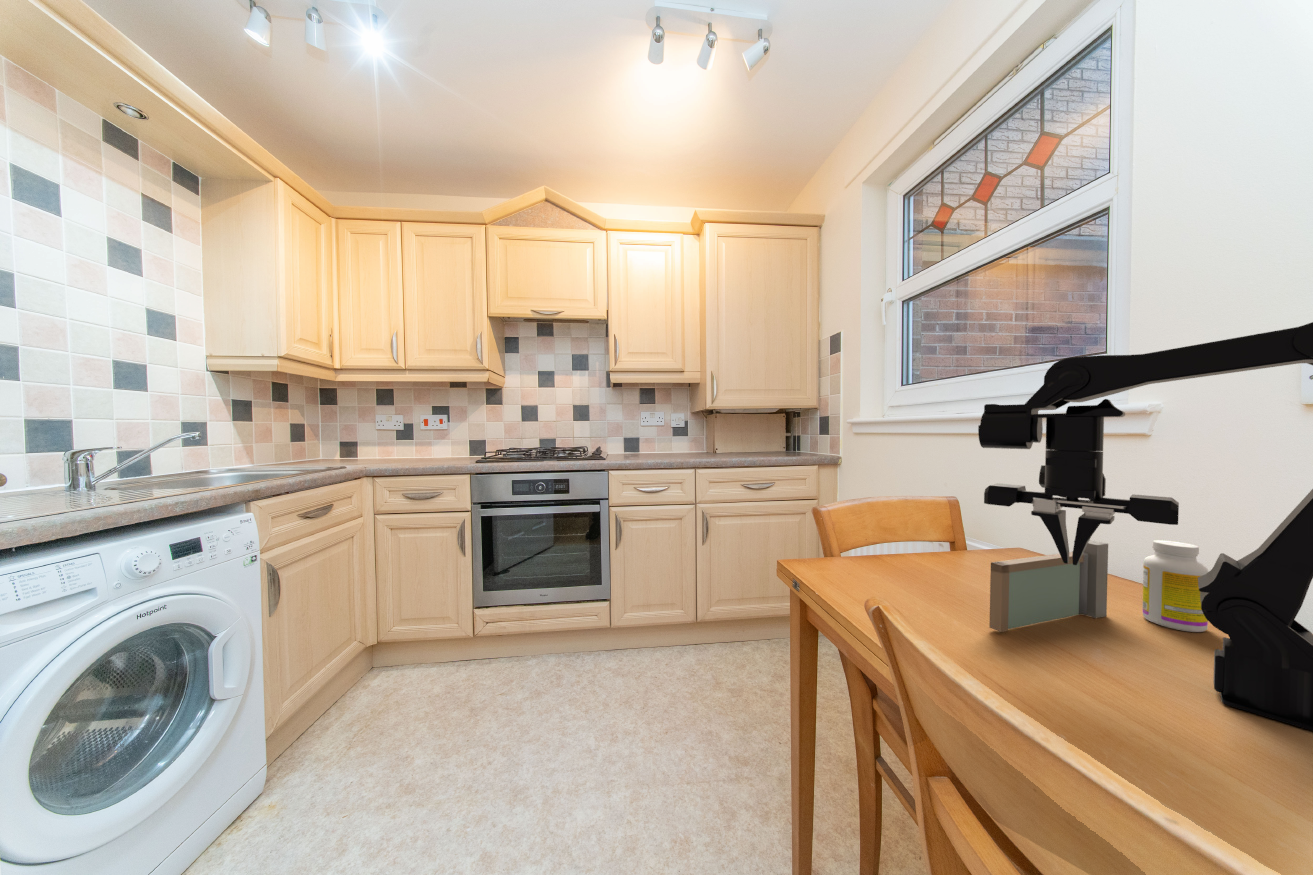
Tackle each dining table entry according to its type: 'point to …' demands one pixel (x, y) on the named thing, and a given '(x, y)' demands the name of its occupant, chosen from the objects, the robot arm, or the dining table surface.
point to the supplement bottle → (1173, 586)
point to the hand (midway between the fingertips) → (1070, 563)
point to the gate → (1036, 590)
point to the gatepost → (1097, 578)
